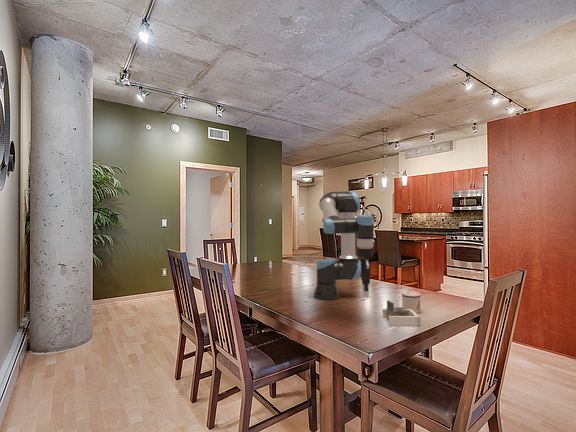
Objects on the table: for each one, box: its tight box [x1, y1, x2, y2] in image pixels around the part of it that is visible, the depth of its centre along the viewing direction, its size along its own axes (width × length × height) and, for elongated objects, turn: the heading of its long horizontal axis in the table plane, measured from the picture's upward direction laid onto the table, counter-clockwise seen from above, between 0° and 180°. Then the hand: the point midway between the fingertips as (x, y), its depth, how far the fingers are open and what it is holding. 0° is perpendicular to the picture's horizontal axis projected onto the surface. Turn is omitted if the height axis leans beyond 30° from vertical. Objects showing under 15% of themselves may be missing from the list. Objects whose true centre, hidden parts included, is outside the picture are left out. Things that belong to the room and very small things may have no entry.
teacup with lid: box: [401, 287, 421, 315], centre depth 161 cm, size 12×9×12 cm
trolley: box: [386, 300, 409, 322], centre depth 145 cm, size 8×6×9 cm
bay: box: [382, 308, 421, 327], centre depth 145 cm, size 14×12×4 cm
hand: (365, 297), depth 146 cm, fingers closed
